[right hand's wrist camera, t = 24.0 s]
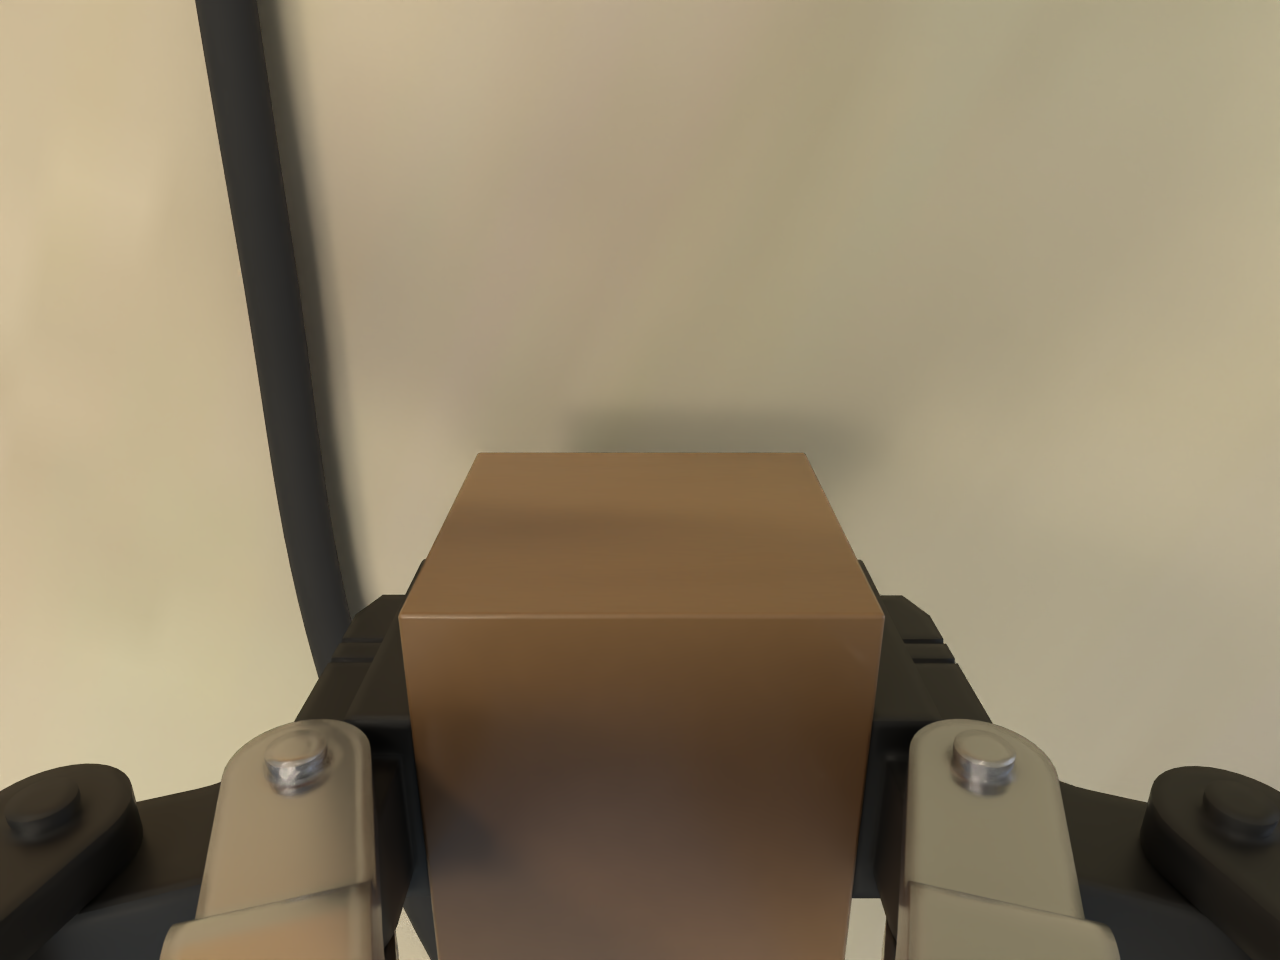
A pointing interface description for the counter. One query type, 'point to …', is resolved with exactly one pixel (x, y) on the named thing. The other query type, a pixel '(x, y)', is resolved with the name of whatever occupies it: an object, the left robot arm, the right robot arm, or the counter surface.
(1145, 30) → the counter surface
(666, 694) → the brown wooden cube
